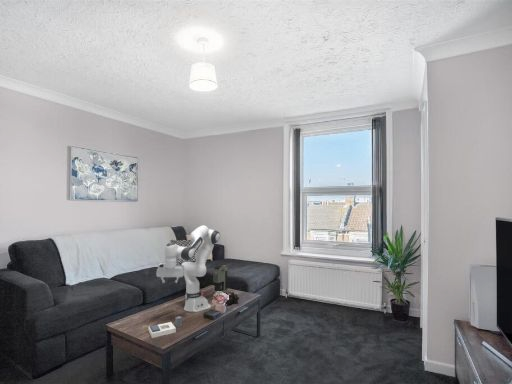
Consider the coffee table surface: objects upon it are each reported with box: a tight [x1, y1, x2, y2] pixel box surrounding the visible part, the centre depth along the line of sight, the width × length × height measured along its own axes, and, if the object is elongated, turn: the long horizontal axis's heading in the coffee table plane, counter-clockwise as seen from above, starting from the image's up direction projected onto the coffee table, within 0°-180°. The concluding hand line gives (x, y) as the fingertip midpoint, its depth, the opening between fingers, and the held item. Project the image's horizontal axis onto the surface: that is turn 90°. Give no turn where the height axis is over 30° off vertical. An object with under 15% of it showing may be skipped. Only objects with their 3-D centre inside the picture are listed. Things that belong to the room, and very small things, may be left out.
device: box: [213, 263, 229, 295], centre depth 283 cm, size 14×8×30 cm, turn 144°
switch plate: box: [147, 321, 177, 339], centre depth 204 cm, size 16×12×4 cm
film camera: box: [224, 291, 240, 306], centre depth 261 cm, size 18×12×10 cm
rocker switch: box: [174, 315, 183, 328], centre depth 214 cm, size 4×4×6 cm
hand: (169, 282), depth 221 cm, fingers open, 8 cm apart
